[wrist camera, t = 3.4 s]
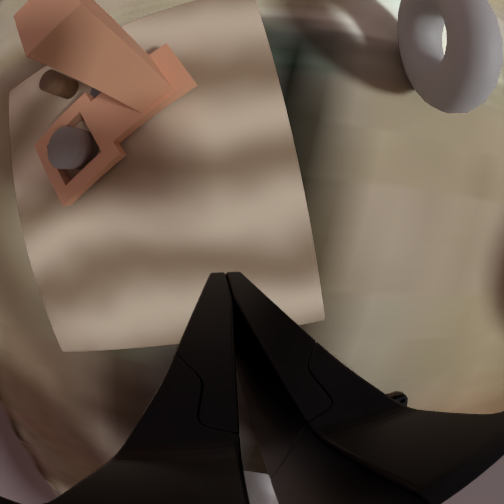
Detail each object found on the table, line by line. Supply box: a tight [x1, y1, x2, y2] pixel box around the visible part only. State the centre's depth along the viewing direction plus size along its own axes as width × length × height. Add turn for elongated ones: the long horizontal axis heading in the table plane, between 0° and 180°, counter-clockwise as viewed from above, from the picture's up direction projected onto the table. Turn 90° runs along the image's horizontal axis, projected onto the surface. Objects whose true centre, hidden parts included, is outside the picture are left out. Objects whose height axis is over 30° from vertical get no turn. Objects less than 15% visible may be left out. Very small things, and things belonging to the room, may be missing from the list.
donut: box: [397, 0, 502, 113], centre depth 12 cm, size 10×3×10 cm, turn 5°
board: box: [9, 0, 325, 352], centre depth 17 cm, size 24×22×4 cm
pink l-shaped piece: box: [14, 0, 198, 206], centre depth 11 cm, size 12×6×11 cm, turn 123°
